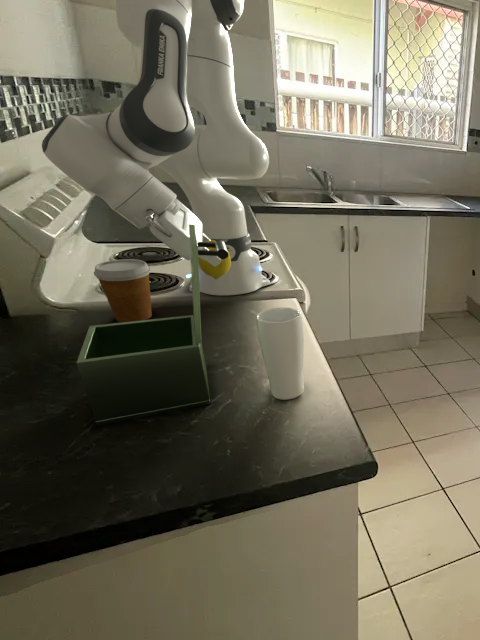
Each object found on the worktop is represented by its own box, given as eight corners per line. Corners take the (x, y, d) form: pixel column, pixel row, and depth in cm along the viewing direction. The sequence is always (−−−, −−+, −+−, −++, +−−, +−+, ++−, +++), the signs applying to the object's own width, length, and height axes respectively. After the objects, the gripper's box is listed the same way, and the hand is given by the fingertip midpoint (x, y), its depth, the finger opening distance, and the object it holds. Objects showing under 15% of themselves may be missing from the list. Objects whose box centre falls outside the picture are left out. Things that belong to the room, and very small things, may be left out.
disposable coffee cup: (104, 328, 99) (89, 273, 94) (109, 312, 106) (94, 260, 101) (160, 322, 104) (148, 269, 99) (161, 307, 111) (149, 257, 106)
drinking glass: (299, 379, 88) (291, 304, 82) (315, 395, 84) (308, 317, 77) (260, 390, 83) (249, 312, 77) (275, 408, 79) (264, 326, 73)
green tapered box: (97, 426, 71) (76, 362, 66) (106, 383, 81) (89, 325, 76) (210, 404, 78) (198, 346, 74) (206, 367, 88) (195, 314, 84)
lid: (191, 244, 68) (230, 247, 71) (188, 224, 78) (223, 226, 81) (195, 343, 73) (231, 342, 76) (192, 312, 84) (224, 312, 86)
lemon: (219, 285, 93) (215, 245, 90) (193, 280, 93) (188, 240, 90) (238, 278, 98) (235, 240, 95) (214, 273, 98) (210, 235, 95)
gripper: (159, 204, 78) (232, 262, 86) (166, 184, 93) (228, 234, 102) (129, 230, 77) (206, 286, 86) (141, 206, 93) (206, 254, 102)
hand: (218, 258), depth 94 cm, fingers closed on lemon, 5 cm apart
